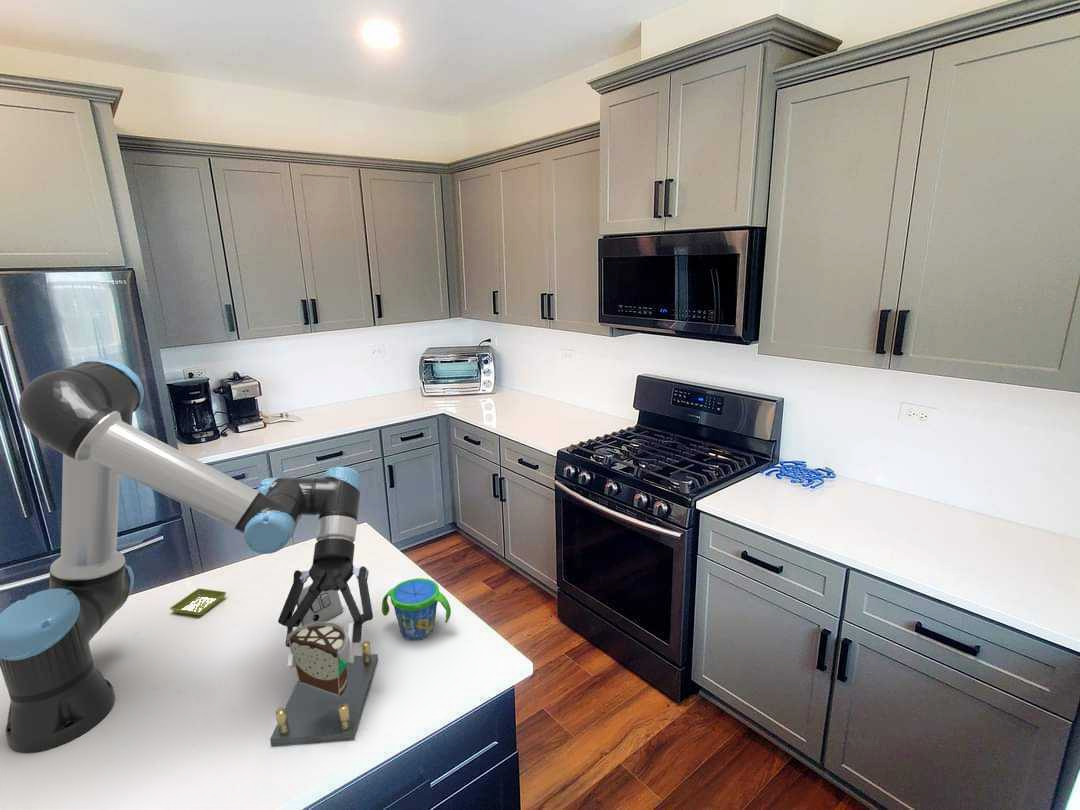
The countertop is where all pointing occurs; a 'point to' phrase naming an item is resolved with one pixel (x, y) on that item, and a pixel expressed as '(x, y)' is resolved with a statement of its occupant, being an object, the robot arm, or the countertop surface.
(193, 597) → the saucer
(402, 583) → the snack cup
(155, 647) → the countertop surface
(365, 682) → the post plate
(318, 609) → the electrical switch
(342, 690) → the food container
